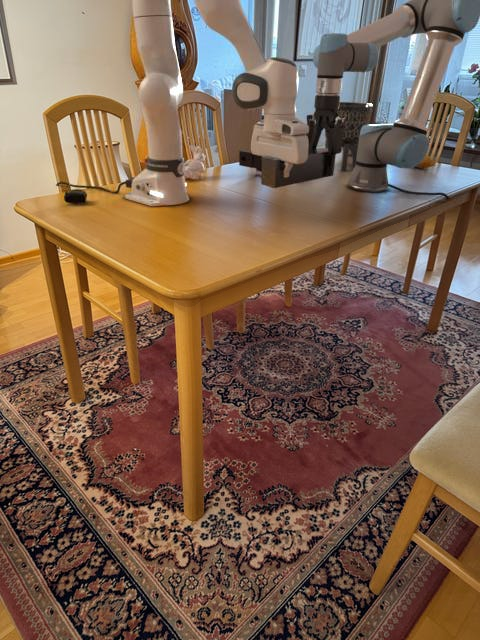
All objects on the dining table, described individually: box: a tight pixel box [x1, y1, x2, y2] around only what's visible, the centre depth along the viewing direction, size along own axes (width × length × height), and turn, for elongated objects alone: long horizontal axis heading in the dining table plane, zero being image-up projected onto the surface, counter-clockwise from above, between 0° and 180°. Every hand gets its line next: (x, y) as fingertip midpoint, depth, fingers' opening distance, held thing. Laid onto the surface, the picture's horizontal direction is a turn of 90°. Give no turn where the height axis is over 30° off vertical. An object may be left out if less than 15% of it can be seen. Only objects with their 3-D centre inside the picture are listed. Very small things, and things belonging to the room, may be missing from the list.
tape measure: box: [63, 188, 88, 205], centre depth 151 cm, size 7×7×4 cm
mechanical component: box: [238, 149, 262, 176], centre depth 191 cm, size 22×21×30 cm
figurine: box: [184, 144, 206, 180], centre depth 182 cm, size 8×15×13 cm, turn 145°
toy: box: [415, 154, 437, 169], centre depth 213 cm, size 11×6×15 cm
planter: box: [324, 101, 374, 172], centre depth 204 cm, size 20×20×26 cm
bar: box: [260, 147, 337, 189], centre depth 139 cm, size 27×6×8 cm, turn 131°
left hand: (276, 174), depth 134 cm, fingers closed on bar, 6 cm apart
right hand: (319, 173), depth 147 cm, fingers closed on bar, 6 cm apart
